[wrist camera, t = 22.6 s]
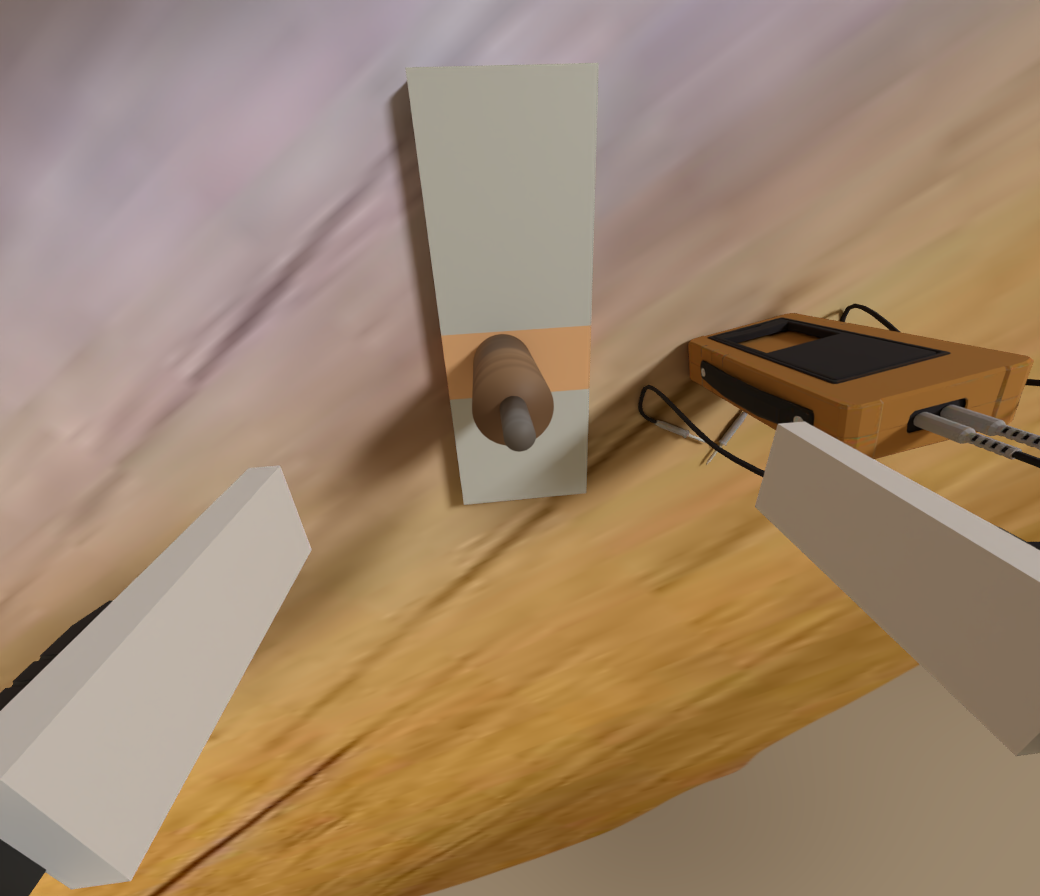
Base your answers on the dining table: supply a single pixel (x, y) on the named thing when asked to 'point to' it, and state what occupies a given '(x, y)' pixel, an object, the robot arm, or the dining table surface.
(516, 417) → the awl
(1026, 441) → the multimeter
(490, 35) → the dining table surface
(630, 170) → the dining table surface
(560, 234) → the panel
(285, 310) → the dining table surface
